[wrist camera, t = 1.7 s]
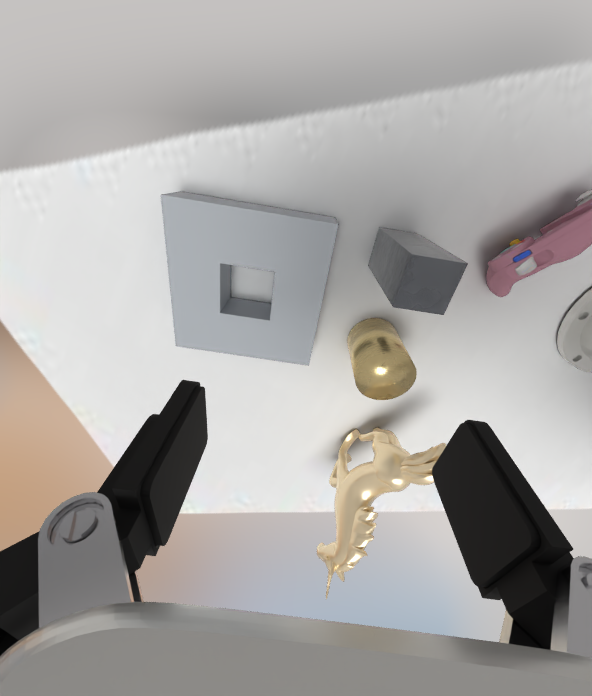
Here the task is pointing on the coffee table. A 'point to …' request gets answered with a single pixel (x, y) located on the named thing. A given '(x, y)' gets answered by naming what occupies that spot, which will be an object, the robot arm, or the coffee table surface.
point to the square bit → (415, 271)
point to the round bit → (380, 360)
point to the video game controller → (543, 248)
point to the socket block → (252, 252)
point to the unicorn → (369, 493)
